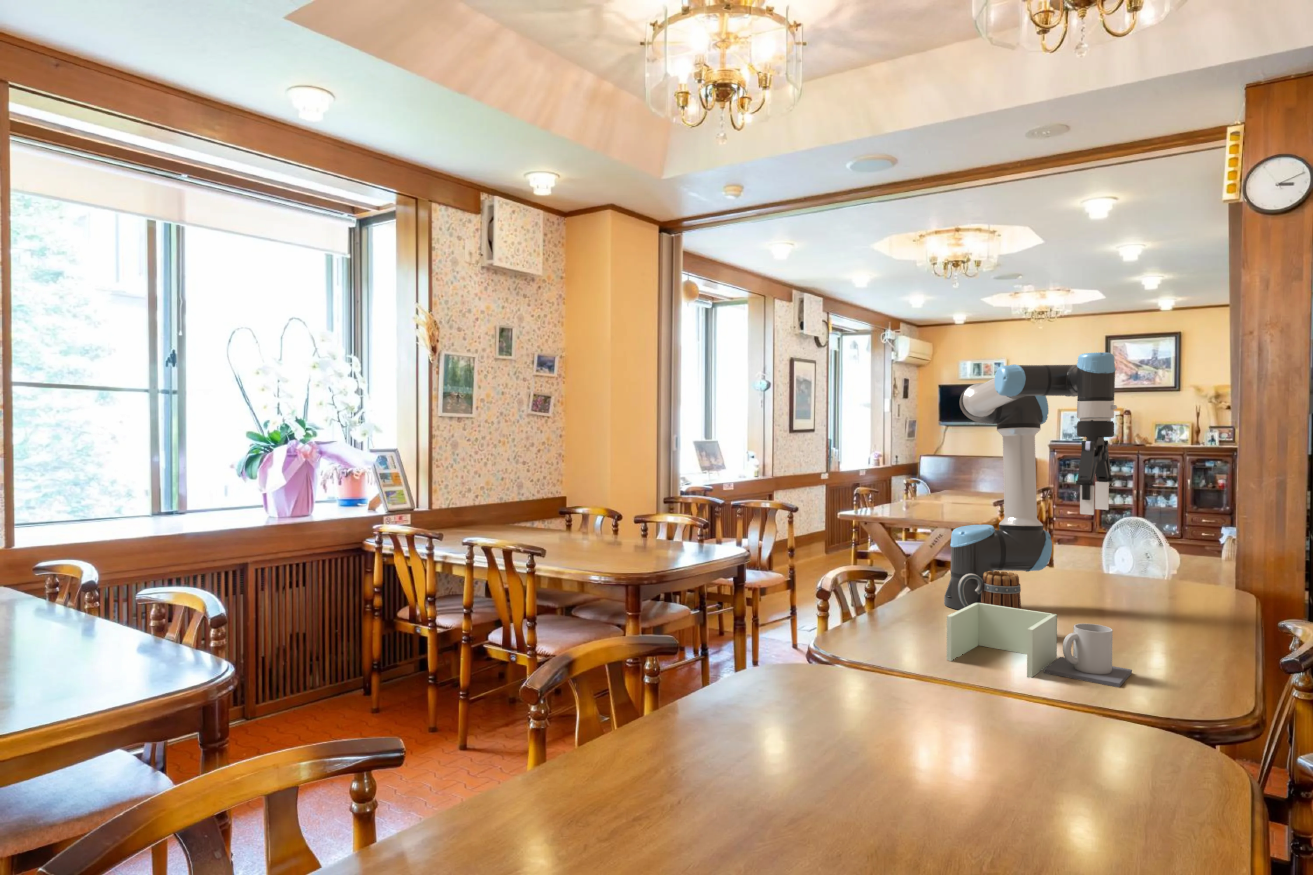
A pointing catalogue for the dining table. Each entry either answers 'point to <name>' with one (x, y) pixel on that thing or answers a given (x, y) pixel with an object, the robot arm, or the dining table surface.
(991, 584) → the mug
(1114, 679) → the mat
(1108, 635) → the cup
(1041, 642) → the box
